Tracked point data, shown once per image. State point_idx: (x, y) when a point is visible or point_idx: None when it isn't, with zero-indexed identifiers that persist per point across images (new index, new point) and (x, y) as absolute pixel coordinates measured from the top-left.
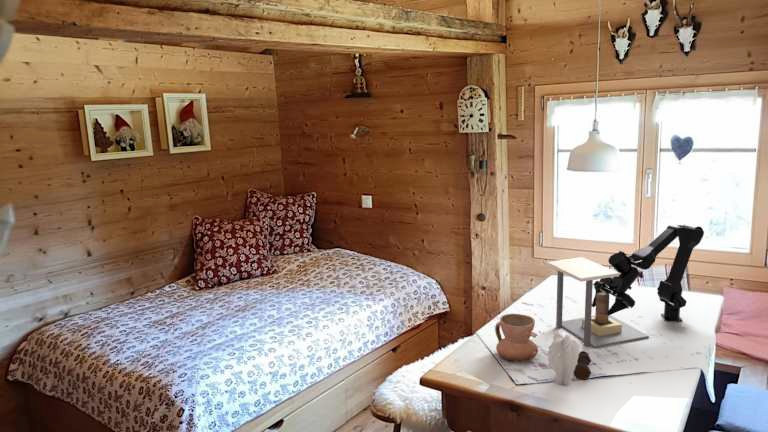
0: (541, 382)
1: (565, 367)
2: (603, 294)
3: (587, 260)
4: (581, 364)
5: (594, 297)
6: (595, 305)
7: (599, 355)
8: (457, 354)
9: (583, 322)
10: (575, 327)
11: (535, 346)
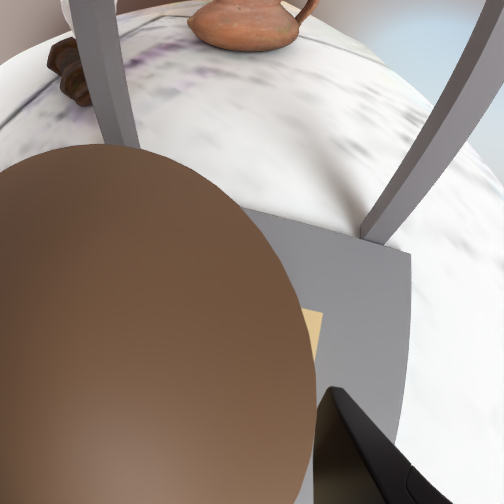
0: (131, 31)
1: None
2: (19, 413)
3: None
4: (64, 41)
5: (411, 467)
6: (316, 436)
7: None
8: (317, 21)
9: None
10: (308, 276)
11: (204, 19)
